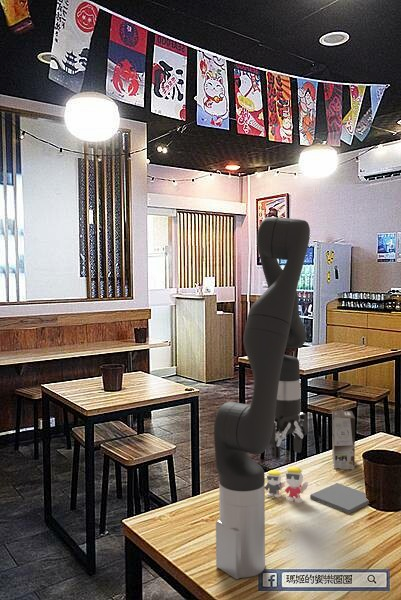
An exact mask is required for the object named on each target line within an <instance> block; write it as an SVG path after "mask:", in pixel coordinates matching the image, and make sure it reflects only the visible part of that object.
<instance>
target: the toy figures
mask: <svg viewBox="0 0 401 600" xmlns="http://www.w3.org/2000/svg"><path fill="white" fill-rule="evenodd" d="M286 471H287V472H286V473H285V481H282V476H281V475H282V473H281V472H280V471H279V470H275V469H271V470H269V471H268V472H267V475H266V480H267V483H266V485H265V490H266V491H268V492H267V493H266V496H269V497H275V498H280V497H282V495H281V493H280V491H281V490H282V489H284V487H285V486H286V483H287V486H286V487H285V489H284V491H285V493H286V494H288V495H287V496H286V497H285V501H287V502H293V501H294V502H295V503H298V504H301V503H303V499H302V497H301V495H302V494H304V492H305V491H306V490H307V489H308V485H309V482H308V480H307V481H306V480H305V482H304V476H303V470H302V469H301V468H300V467H297V466H290V467H288V468H287V469H286ZM303 482H304V483H303Z"/></svg>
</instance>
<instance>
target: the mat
mask: <svg viewBox="0 0 401 600" xmlns="http://www.w3.org/2000/svg"><path fill="white" fill-rule="evenodd" d="M365 493H366V492H364V491H361V490H358V489H356V488H352V487H349V486H347V485H345V484H341V483H339V482H337V483H334V484H332V485H330V486H327V487H325V488H323V489H320V490H318V491H316V492H313V493H311V494H310V495H309V496H310V497H309V498H310V499H311V500H313V501H315V502H318V503H321V504H323V505H325V506H328V507H331V508H333V509H335V510H338V511H340V512H343V513H346V514H347V515H350V514H351V513H354V512H356V511H358V510H360V509H362V508H363V507H365V506H367V505H369V504H370V503H369V500H368V499H367V498H366V495H365Z"/></svg>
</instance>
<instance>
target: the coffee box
mask: <svg viewBox="0 0 401 600" xmlns="http://www.w3.org/2000/svg"><path fill="white" fill-rule="evenodd" d="M331 414H332V415H331V418H332V419H331V421H332V423H331V426H332V427H331V428H332V431H331V432H332V437H331V438H332V464H334V465H333V469H336V468H340V470H349V469H352V471H354V470H355V463H356V462H355V459H356V458H355V454H356V451H355V448H356V447H355V445H356V444H355V440H356V439H355V438H356V437H355V435H356V433H355V431H356V417H355V414H354V413H353V411H352V410H332V412H331ZM353 469H354V470H353Z"/></svg>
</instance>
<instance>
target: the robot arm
mask: <svg viewBox="0 0 401 600" xmlns="http://www.w3.org/2000/svg"><path fill="white" fill-rule="evenodd" d="M310 235H311V228H310V225H309V223H308V222H307V221H306V220H305V219H299V218H289V217H288V218H287V217H275V216H269V217H268V216H267V217H264V218H263V219H262V221H261V222H260V224H259V227H258V230H257V237H256V242H257V245H256V246H257V251H258V256H259V260H260V263H261V267H262V271H263V275H264V278H265V282H266V285H267V288H266V290H265V291H264V292H263V293H262V294H260V295H259V297H258V298H257V299H256V300H255V301H254V302H253V304H252V305H251V307H250V309H249V310H248V311H249V312H248V315H247V319H246V323H245V327H244V332H243V336H242V337H243V338H242V340H243V346H244V347H243V348H244V351H245V354H246V357H247V360H248V362H249V365H250V368H251V373H252V375H253V392H252V398H251V399H252V400H251V403H250V404H248V403H240V402H235V401H227V402H225V403H223V404H222V405H221V406H220V407H219V409H218V410H217V412H216V414H215V418H214V423H213V440H214V441H213V443H214V455H215V458H214V459H215V468H216V472H217V474H218V482H219V483H218V485H219V486H218V487H219V488H218V489H219V494H218V495H219V496H218V497H219V499H218V500H219V503H218V504H219V519H218V520H216V522H215V558H216V559H215V564H216V568H218V569H219V570H221V571H222V572H224V573H226V574H227V575H228V576H230V577H232V578H233V579H235V580H239V579H241V578H251V577H254V576H255V577H256V576H258V575H259V574H261V573H263V571H264V570H265V568H266V527H265V526H266V524H265V523H266V518H265V517H266V515H265V513H266V511H265V509H266V508H265V507H266V505H265V503H266V501H265V497H266V496H265V492H266V491H265V490H266V489H265V486H266V485H265V483H266V482H265V481H266V480H265V479H266V478H265V470H264V468H263V467H262V465H260V464H259V463H258V462H257V461H255V460H254V459H253V458H252V457H251V456H250V455H249V454H253V455H260V454H262V453H264V452H266V450H267V449H268V447H269V446H271V457H272V459H273V460H275V461H279V460H281V443H282V441H283V440H284V439H285V438H286V436H288V435H289V434H292V436H294V437H293V438H292V439H293V442H292V443H293V451H294V452H296V453H298V454H299V453H302V450H303V449H302V448H303V438H304V436H307V435H308V433H309V432H308V431H309V430H308V415H307V413H304V412H302V402H301V401H302V400H301V399H302V397H301V396H302V394H301V393H302V392H301V390H302V388H301V387H302V386H301V381H300V379H301V378H300V375H301V373H300V371H301V370H300V368H301V367H300V360H299V358H298V357H296V356H291V355H288V354H285V352H286V349H287V348H288V349H297V348H301V347H303V345H305V343H306V340H307V331H306V328H305V325H304V323H303V321H302V318H301V316H300V313H299V311H300V310H299V293H298V291H297V289H298V285H299V282H300V278H301V275H302V274H301V273H302V271H303V266H304V263H305V259H306V256H307V253H308V249H309V248H308V247H309V244H310V237H311V236H310ZM278 260H284V261H286V262H285V264H284V266H283V268H282V267H281V265H280V262H279V261H278ZM248 453H249V454H248Z"/></svg>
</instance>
